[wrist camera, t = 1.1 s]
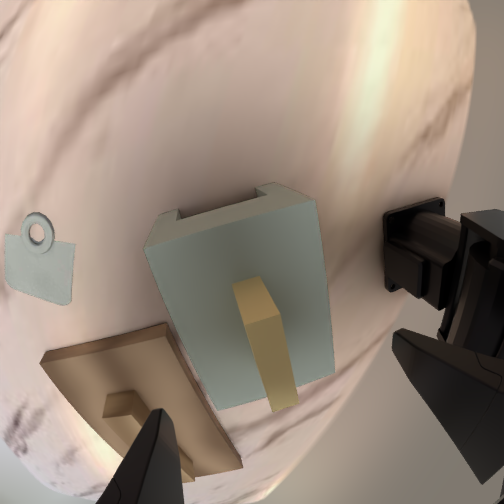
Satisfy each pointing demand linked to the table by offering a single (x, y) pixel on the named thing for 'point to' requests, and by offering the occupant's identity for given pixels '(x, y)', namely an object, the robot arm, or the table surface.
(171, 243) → the cabinet block
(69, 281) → the mounting bracket
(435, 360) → the robot arm
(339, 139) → the table surface
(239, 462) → the cleat board
